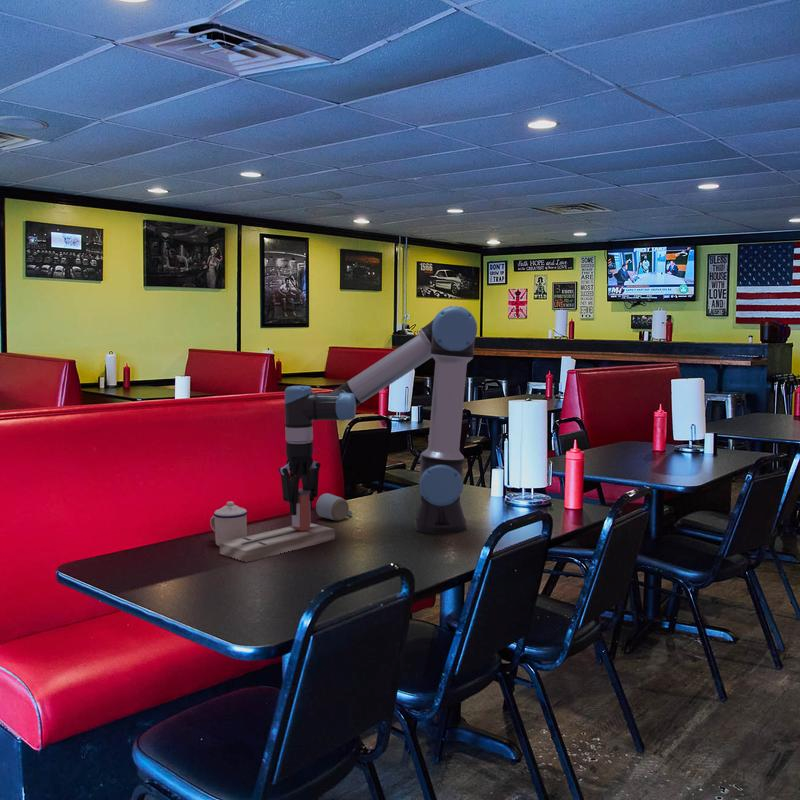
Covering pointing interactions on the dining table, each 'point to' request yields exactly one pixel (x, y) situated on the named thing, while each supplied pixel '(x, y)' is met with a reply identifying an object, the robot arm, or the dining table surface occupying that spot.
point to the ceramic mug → (332, 507)
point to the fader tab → (304, 509)
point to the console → (275, 542)
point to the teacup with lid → (229, 523)
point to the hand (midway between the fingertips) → (301, 524)
